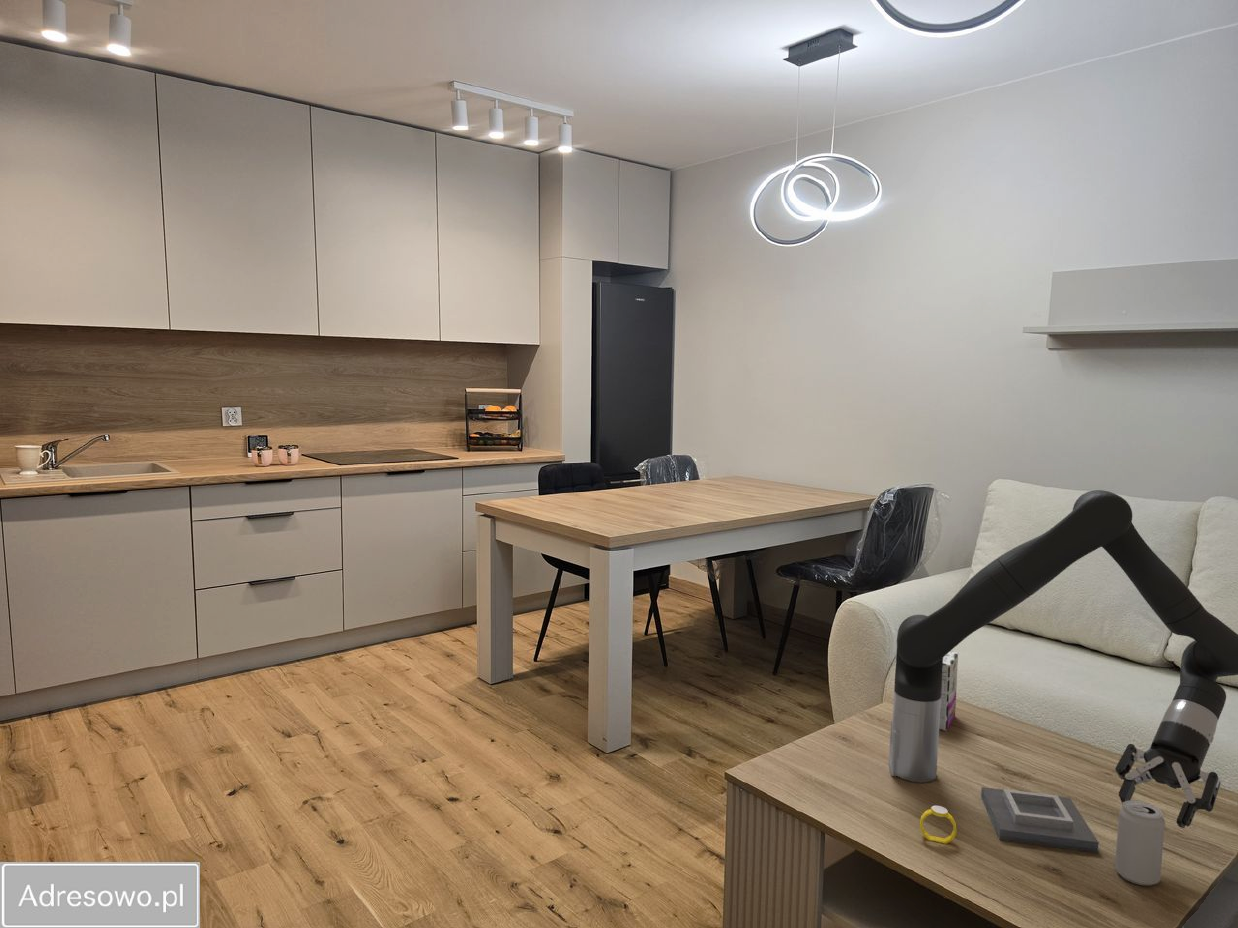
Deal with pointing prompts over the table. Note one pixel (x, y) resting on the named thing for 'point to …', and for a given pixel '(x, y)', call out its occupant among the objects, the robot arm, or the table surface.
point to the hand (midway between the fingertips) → (1151, 813)
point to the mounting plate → (1038, 819)
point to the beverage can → (1140, 843)
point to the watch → (941, 813)
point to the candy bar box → (948, 690)
